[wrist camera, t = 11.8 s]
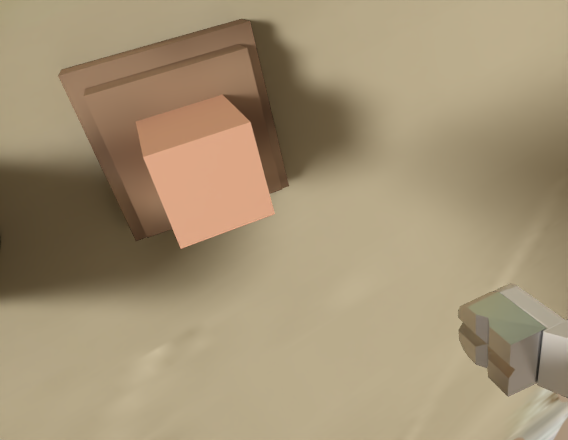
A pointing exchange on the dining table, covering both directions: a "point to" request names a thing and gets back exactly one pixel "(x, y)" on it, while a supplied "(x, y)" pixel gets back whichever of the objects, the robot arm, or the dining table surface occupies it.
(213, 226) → the block
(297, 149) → the dining table surface
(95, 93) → the plinth
